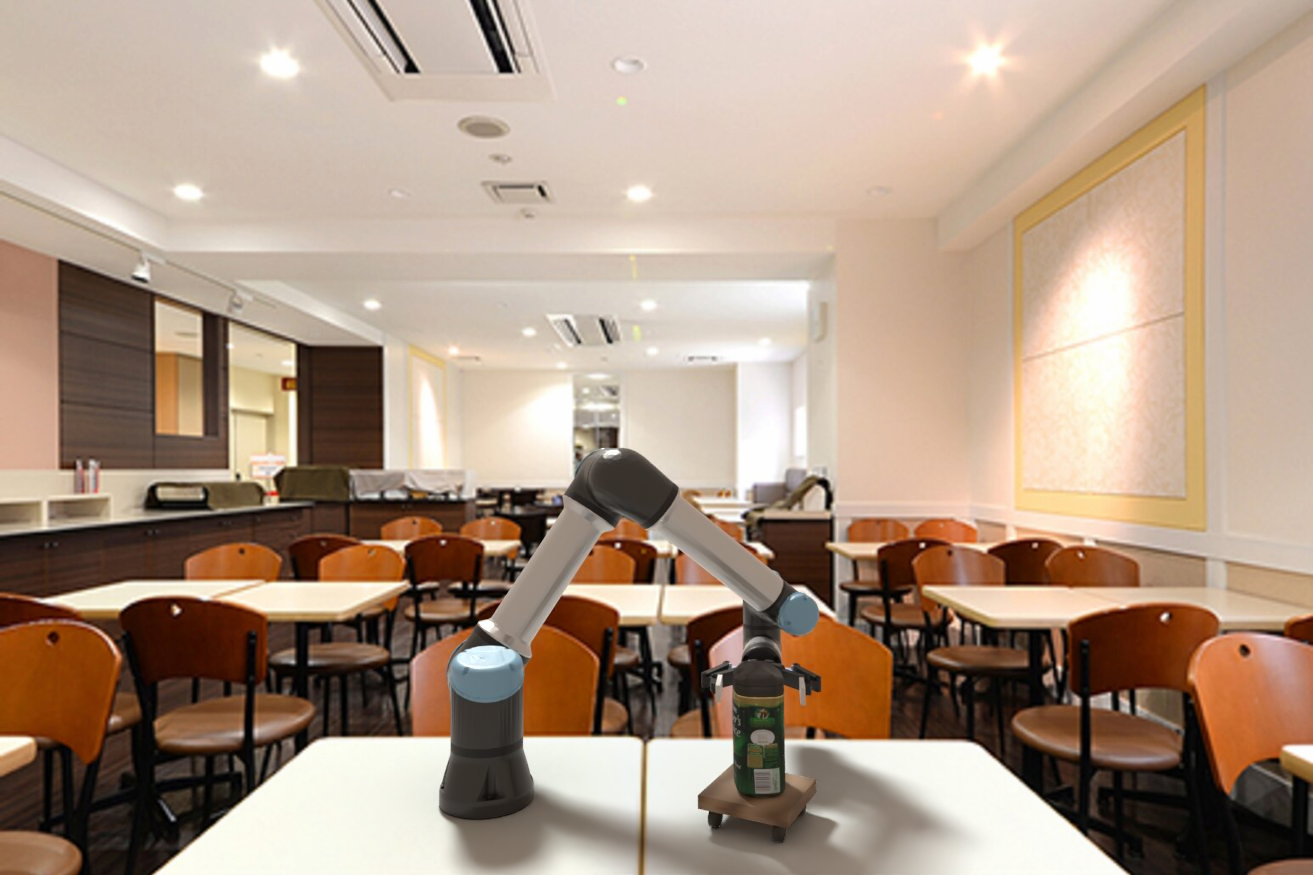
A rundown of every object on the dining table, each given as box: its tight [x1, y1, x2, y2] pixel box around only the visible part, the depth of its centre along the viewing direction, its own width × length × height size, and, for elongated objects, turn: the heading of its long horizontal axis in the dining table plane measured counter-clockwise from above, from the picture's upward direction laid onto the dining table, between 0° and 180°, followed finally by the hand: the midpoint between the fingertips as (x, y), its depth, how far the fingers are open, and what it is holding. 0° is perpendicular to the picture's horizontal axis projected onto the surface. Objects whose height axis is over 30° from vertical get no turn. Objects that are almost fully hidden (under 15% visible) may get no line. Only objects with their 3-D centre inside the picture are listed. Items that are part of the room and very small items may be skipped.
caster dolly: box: [697, 763, 817, 843], centre depth 121 cm, size 14×14×5 cm
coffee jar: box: [731, 661, 786, 797], centre depth 122 cm, size 10×8×19 cm
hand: (760, 695), depth 127 cm, fingers open, 13 cm apart
